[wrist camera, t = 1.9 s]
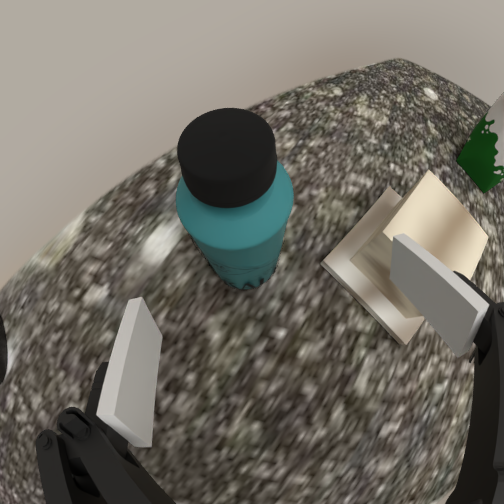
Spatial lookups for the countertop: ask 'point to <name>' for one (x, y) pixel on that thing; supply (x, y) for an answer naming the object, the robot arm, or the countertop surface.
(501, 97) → the milk carton
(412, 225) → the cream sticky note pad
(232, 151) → the beverage bottle
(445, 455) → the countertop surface
